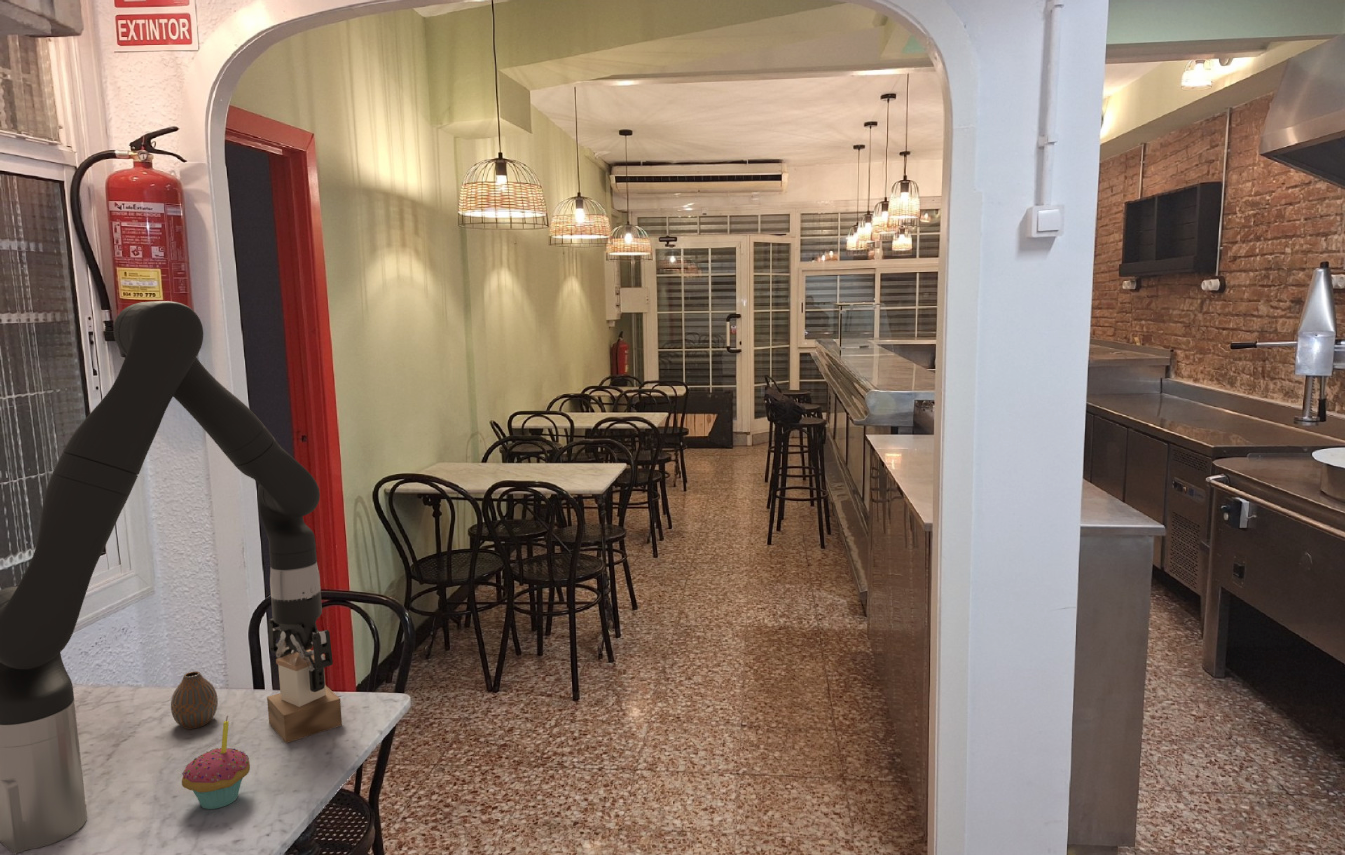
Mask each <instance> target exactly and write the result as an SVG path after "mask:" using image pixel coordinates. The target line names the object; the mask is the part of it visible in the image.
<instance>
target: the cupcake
mask: <svg viewBox="0 0 1345 855" xmlns="http://www.w3.org/2000/svg"><path fill="white" fill-rule="evenodd" d="M228 717H229V715H226V717H225V718H226V719H225V721H223V725H222V726H223V727H222V737H221V747H219V748H218V747H217V748H212V749H211V750H209V751H206V752H205V753H203V754H201V755H199V756H196V757H195V758H194V759H193V760H192V761H191V762H189V763H187V765H186V766H185V769H184V770H183V771H182V773H181V774H182V778H181V786H182V787H183V788H184V789H186V790H189V791H192V792H193V793H194V795H195V797H196V799H197V800H198V803H199V804H200V805H199V806H200V807H201V808H203V809H206V810H213V809H214V810H215V809H220V808H224V807H226V806H228V805H230V804H232V803H234V802H235V801H236V800H237V798H238V797H239V794H240V793H239V792H240V788H241V784H242V782H243V779H244V778H245V777H246V776H247V775H249V772H250V769H251V768H250V767H251V764H250V763H251V762H250V760H249V756H248V755H247V754H246V753H245V751H241V750H238V749H237V748H230V747H229V748H227V745H228V735H229V723H230V722H229V720H228V719H229V718H228Z"/></svg>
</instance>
